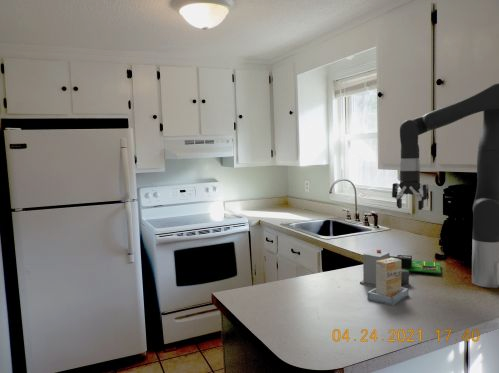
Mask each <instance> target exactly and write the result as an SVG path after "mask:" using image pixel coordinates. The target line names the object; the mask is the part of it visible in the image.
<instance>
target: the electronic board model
mask: <svg viewBox="0 0 499 373" xmlns="http://www.w3.org/2000/svg"><path fill="white" fill-rule="evenodd" d="M390 258H396V259H400V260H401V269H404V270H408V271H409V274H411V273H412V272H420V273H429V274H430V273H431V274H442V273H441V271H442V270H441V262H437V261H425V260H424V261H423V260H413V255H404V254H403V255H402V254H397V256H391V255H390Z"/></svg>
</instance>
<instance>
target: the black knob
mask: <svg viewBox="0 0 499 373" xmlns="http://www.w3.org/2000/svg"><path fill="white" fill-rule="evenodd" d="M409 284H410V273H409V271H408V270H404V269H401V286H409Z"/></svg>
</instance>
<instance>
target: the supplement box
mask: <svg viewBox="0 0 499 373" xmlns="http://www.w3.org/2000/svg"><path fill="white" fill-rule="evenodd" d="M401 287H402V285H401V260H400V259H396V258H387V259H383V260H378V261H376V287H375V288H376V294H380V295H384V296H388V297H393V296H395V295H396V294H398V293H400V292H401Z"/></svg>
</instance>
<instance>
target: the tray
mask: <svg viewBox="0 0 499 373" xmlns="http://www.w3.org/2000/svg"><path fill="white" fill-rule="evenodd" d="M366 293H367V294H366V295H367V296H366V297H367V298H366V300H370V301H373V302H377V303H381V304H385V305H390V306H394V305H396V304H397V303H399V302H401V301H402V300H404V299H405V298H406V297H408V296H409V288H406V287H402V286H401V292H400V293H398V294H396V295H395V296H393V297H388V296H384V295H380V294H376V287H373V288H372V289H370V290H369V291H367V292H366Z"/></svg>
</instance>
